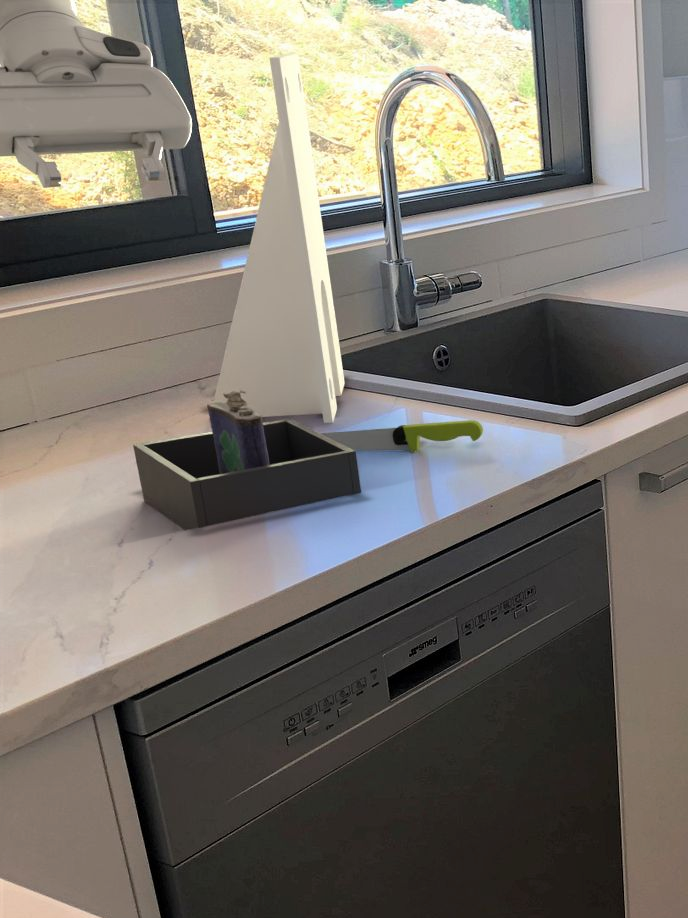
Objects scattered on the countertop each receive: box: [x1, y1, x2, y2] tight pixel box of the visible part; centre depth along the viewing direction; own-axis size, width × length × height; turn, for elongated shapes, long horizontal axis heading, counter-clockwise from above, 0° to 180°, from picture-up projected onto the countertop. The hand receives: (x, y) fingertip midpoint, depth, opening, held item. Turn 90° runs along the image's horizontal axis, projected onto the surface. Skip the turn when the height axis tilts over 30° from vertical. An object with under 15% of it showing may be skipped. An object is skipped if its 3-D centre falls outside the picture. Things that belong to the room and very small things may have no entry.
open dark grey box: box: [132, 418, 362, 531], centre depth 136 cm, size 16×16×6 cm
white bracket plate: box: [209, 52, 346, 424], centre depth 164 cm, size 20×14×40 cm
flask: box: [207, 390, 270, 474], centre depth 135 cm, size 9×3×11 cm, turn 44°
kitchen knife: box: [319, 419, 484, 453], centre depth 154 cm, size 22×1×3 cm, turn 90°
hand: (105, 180), depth 135 cm, fingers open, 8 cm apart
